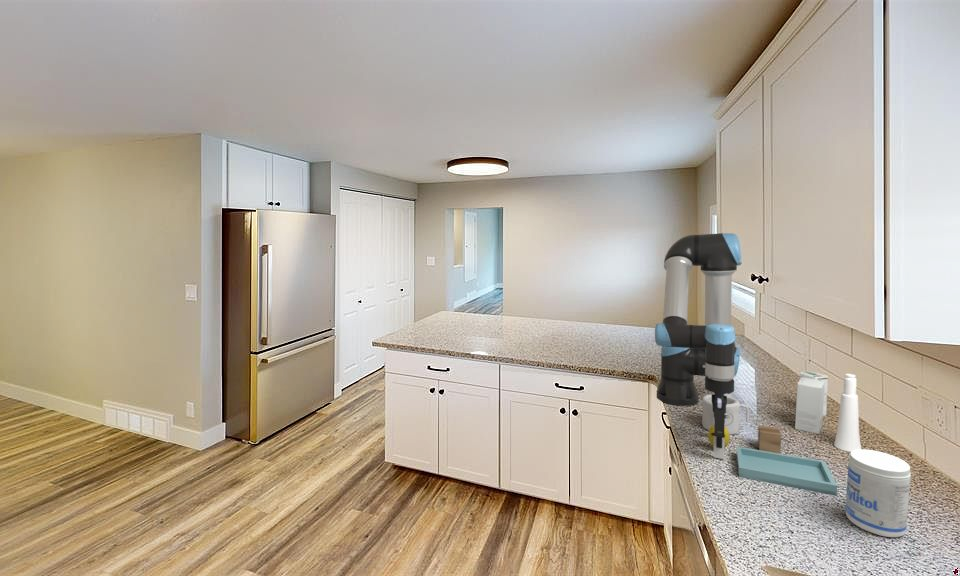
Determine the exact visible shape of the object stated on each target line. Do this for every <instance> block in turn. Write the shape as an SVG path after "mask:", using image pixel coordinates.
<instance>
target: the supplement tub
mask: <svg viewBox="0 0 960 576" xmlns="http://www.w3.org/2000/svg"><path fill="white" fill-rule="evenodd" d="M911 475H912V473H911V466H910V465H909V463H908V462H906V461H904V459H901V458H899V457H897V456H894V455H892V454H889V453H886V452H881V451H878V450H873V449H865V448H864V449H862V448H861V449H858V450H853V451H851V452H849V458H848V464H847V480H846V496H845V497H846V498H845V515H846V517H847V518H848V520H850V522H851V523H852V524H854V525H856V526H857V527H859V528H860V529H862V530H864V531H867V532H869V533H871V534H875V535H878V536H880V537H881V536H882V537H884V538H885V537H887V538H900V537H902V536H904V535H905V534H906V532H907V526H908V525H907V524H908V523H907V522H908V512H909V502H910V501H909V500H910V490H911V477H912V476H911Z"/></svg>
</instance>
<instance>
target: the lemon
mask: <svg viewBox="0 0 960 576" xmlns="http://www.w3.org/2000/svg"><path fill="white" fill-rule="evenodd" d="M711 433H714V425H713V426H711V427H710V429H709V430H708V433H707V434H708V441H709V443H710V445H712V446H713V447H714V436H712V435H711ZM721 433H722V432H721ZM724 434H725V448H726V447H728V445H729V443H730V440H731V439H730V435H729V432H728V430H727V429H726V428H725V427H724Z"/></svg>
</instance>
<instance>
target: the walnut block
mask: <svg viewBox="0 0 960 576" xmlns="http://www.w3.org/2000/svg"><path fill="white" fill-rule="evenodd" d="M757 427H758V430H757V432H758V434H757V435H758V436H757V437H758V440H757V444H758V446H757V447H758V450H761V451H767V452H773V453H779V454H782V452H781V449H782V434H781V431H780V428H779V427H771V426H765V425H760V424H759V425H758V426H757Z"/></svg>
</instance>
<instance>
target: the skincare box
mask: <svg viewBox="0 0 960 576" xmlns="http://www.w3.org/2000/svg"><path fill="white" fill-rule="evenodd" d="M824 384H825V381H823V380H817V379H810V378H804V377H801V379H800V378H799V381H797V384H796V385H797V386H796V400H795V401H796V402H795V405H796V406H795V422H794V424H795V425H794V429H795V430H798V431H803V432H808V433H812V434H816V435H820V433H821V430H822V428H823V420H824V416H823V402H824Z"/></svg>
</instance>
